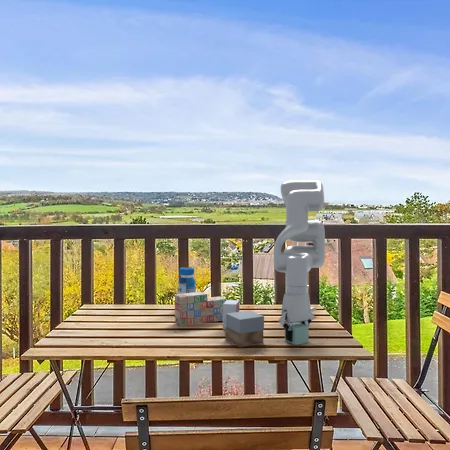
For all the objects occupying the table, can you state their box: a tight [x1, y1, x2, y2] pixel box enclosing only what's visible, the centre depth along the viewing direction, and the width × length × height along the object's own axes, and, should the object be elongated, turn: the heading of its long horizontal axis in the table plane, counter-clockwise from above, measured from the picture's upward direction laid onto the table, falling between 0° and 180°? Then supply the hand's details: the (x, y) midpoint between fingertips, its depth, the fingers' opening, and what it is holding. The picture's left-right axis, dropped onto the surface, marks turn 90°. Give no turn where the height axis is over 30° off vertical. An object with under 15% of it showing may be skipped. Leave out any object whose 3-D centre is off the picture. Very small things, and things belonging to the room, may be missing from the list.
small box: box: [222, 299, 240, 331], centre depth 185 cm, size 8×6×10 cm
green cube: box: [284, 322, 310, 346], centre depth 166 cm, size 6×6×6 cm
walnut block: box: [224, 327, 264, 348], centre depth 167 cm, size 10×10×5 cm
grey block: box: [226, 310, 265, 334], centre depth 166 cm, size 10×10×5 cm
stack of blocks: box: [174, 291, 227, 327], centre depth 195 cm, size 21×6×12 cm, turn 118°
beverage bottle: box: [177, 266, 197, 294], centre depth 214 cm, size 8×8×20 cm
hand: (296, 338), depth 166 cm, fingers closed on green cube, 6 cm apart
